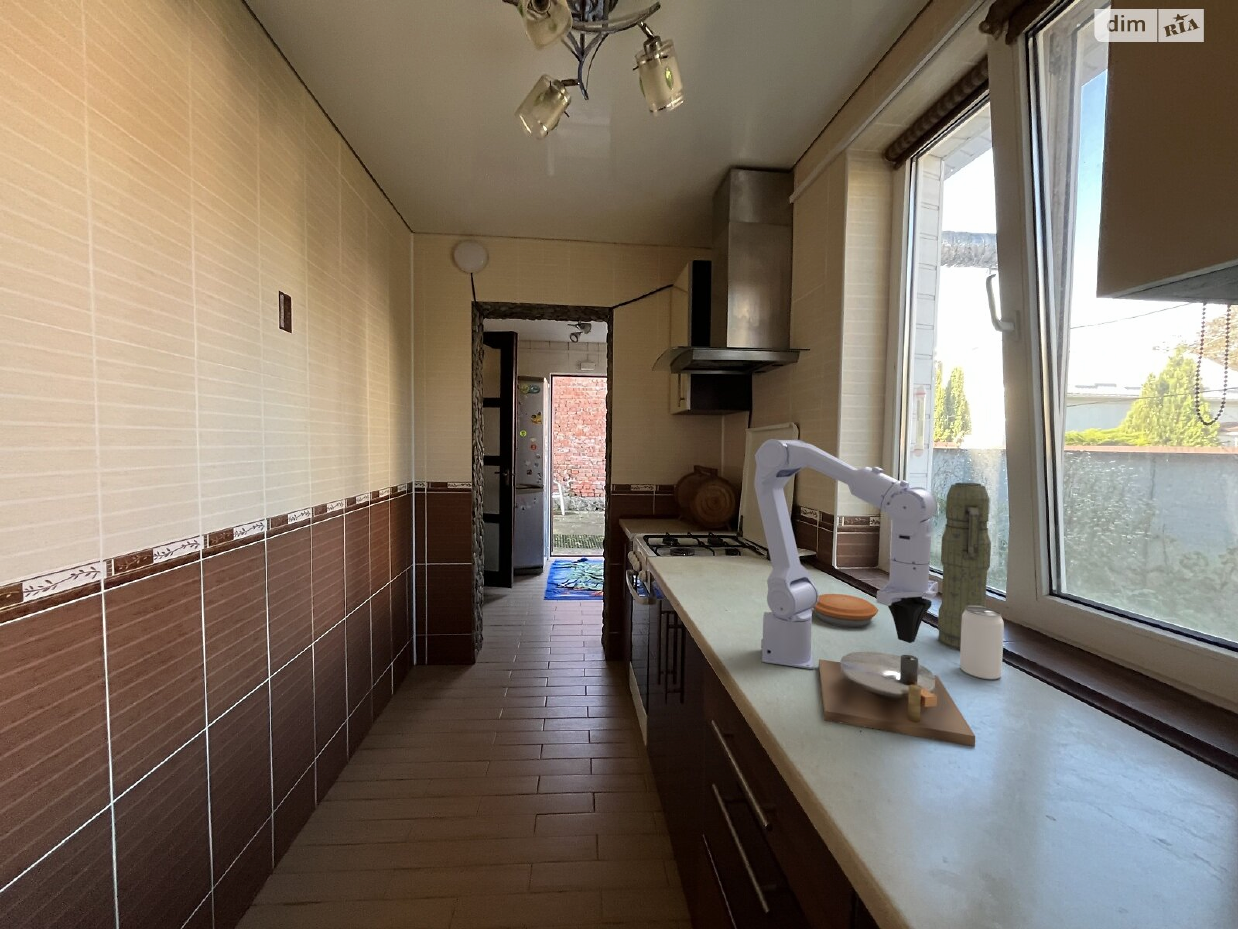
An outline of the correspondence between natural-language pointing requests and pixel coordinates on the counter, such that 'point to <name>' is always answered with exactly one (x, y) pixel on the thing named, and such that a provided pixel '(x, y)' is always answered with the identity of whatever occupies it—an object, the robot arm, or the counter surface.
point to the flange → (889, 675)
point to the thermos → (963, 558)
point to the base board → (892, 709)
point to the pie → (844, 610)
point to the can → (981, 642)
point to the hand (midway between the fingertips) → (906, 640)
